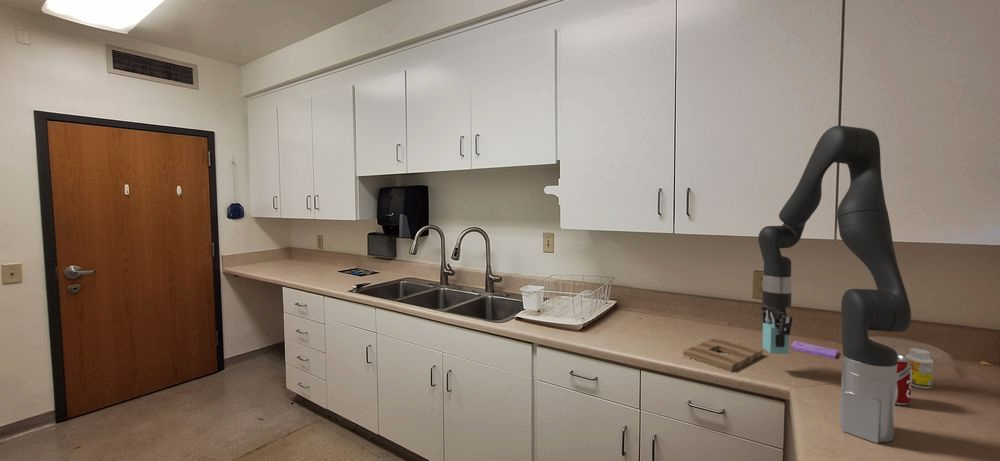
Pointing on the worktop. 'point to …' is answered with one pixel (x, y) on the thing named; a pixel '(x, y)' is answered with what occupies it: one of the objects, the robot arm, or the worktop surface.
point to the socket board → (727, 362)
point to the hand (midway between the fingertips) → (775, 343)
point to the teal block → (773, 340)
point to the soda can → (903, 381)
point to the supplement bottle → (921, 368)
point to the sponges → (814, 349)
